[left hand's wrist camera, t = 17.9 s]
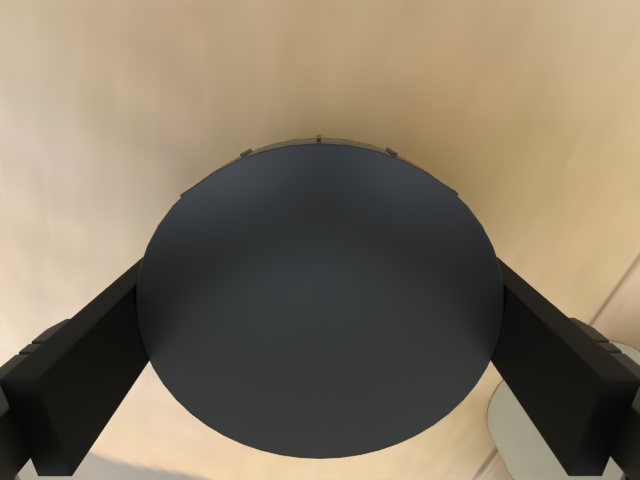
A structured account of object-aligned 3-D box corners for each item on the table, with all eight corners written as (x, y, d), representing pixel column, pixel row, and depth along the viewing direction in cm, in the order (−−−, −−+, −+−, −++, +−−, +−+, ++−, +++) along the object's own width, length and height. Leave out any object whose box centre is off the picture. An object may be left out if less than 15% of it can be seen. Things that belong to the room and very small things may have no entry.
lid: (295, 462, 15) (292, 501, 14) (86, 276, 12) (53, 301, 10) (537, 329, 13) (566, 359, 11) (357, 49, 9) (364, 38, 8)
